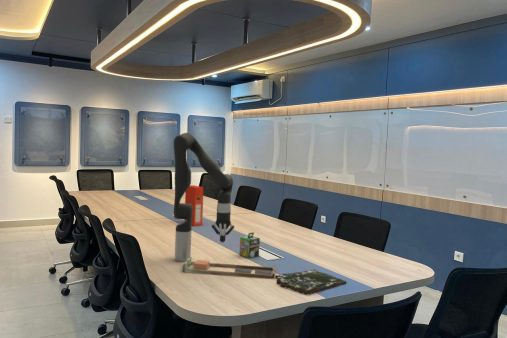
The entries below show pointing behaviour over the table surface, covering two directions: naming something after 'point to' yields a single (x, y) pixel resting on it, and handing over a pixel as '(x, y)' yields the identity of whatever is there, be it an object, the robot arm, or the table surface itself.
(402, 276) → the table surface
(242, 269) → the lane
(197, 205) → the file binder
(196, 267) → the block
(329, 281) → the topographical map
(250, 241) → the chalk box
